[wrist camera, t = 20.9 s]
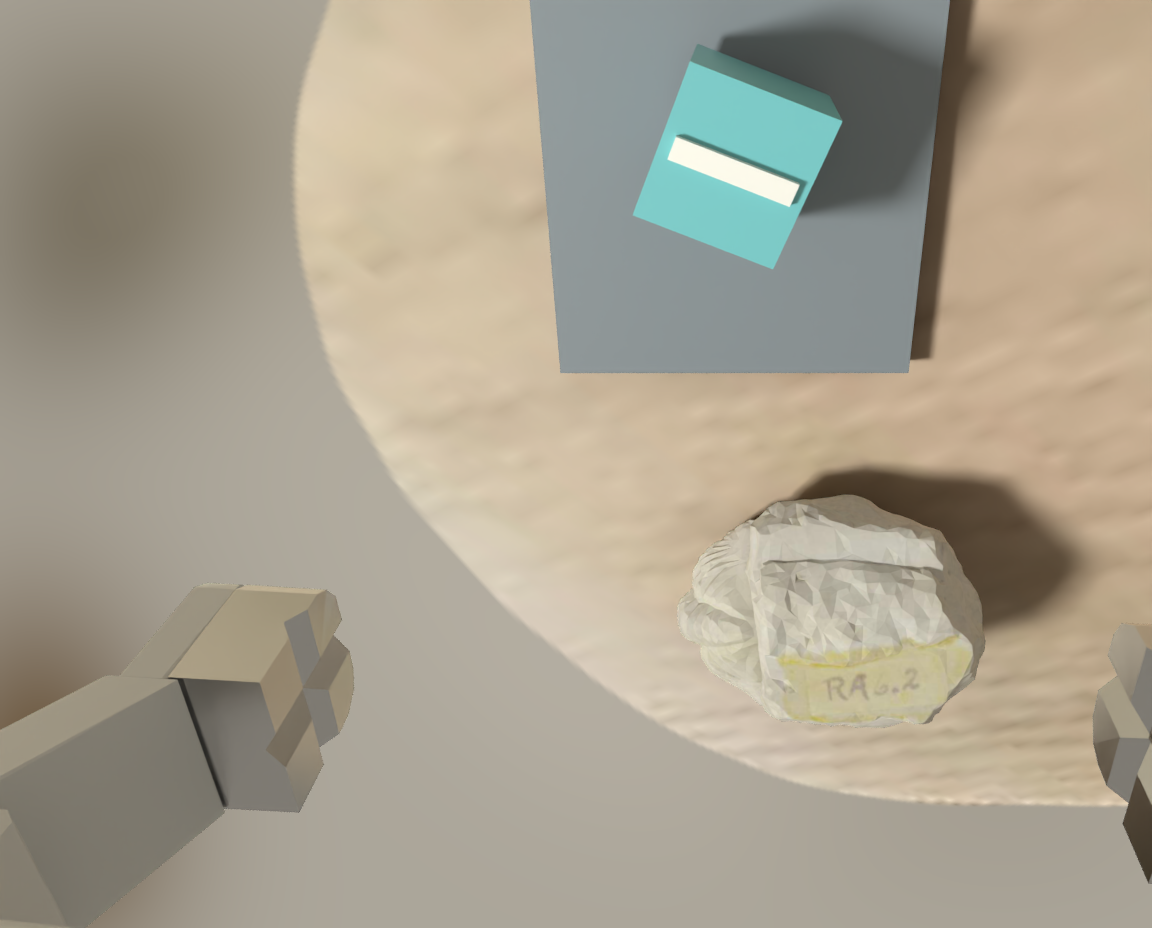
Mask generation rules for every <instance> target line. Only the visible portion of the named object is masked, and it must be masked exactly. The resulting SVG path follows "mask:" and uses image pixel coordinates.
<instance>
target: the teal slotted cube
mask: <svg viewBox="0 0 1152 928" xmlns="http://www.w3.org/2000/svg"><path fill="white" fill-rule="evenodd" d="M842 122H843V121H842V119H841V117H840V115H839V113H838V111H837V109H836V107H835V105H834V103H833V101H832V99H831V97H830V96H829V95H827V94H825V93H822V92H819V91H817V90H814V89H812V88H809V87H807V86H804V85H802V84H799V83H797V82H794V81H791V80H789V79H786V78H784V77H781V76H779V75H776V74H774V73H771V72H769V71H766V70H764V69H761V68H758V67H756V66H753V65H751V64H748V63H746V62H743V61H741V60H738V59H736V58H733V57H730V56H728V55H725V54H723V53H720V52H718V51H715V50H713V49H710V48H708V47H705V46H702V45H700V44H697V46H696V48H695V50H694V53H693V55H692V58H691V60H690V62H689V65H688V68H687V70H686V73H685V76H684V79H683V81H682V84H681V87H680V89H679V92H678V95H677V97H676V100H675V103H674V105H673V108H672V111H671V113H670V116H669V119H668V121H667V124H666V127H665V129H664V132H663V135H662V137H661V140H660V143H659V146H658V148H657V151H656V154H655V156H654V159H653V162H652V164H651V167H650V170H649V172H648V175H647V178H646V180H645V183H644V186H643V188H642V191H641V194H640V196H639V199H638V202H637V204H636V207H635V210H634V212H633V216H636V217H638V218H641V219H644V220H646V221H649V222H651V223H654V224H656V225H659V226H662V227H664V228H667V229H669V230H672V231H675V232H677V233H680V234H682V235H685V236H688V237H690V238H693V239H695V240H698V241H701V242H703V243H706V244H708V245H711V246H713V247H716V248H719V249H721V250H724V251H726V252H729V253H732V254H734V255H737V256H739V257H742V258H745V259H747V260H750V261H752V262H755V263H758V264H760V265H763V266H765V267H768V268H770V269H773V268H774V266H775V264H776V262H777V260H778V258H779V256H780V254H781V251H782V249H783V247H784V245H785V243H786V241H787V239H788V237H789V234H790V232H791V230H792V228H793V226H794V224H795V222H796V219H797V217H798V215H799V213H800V211H801V209H802V207H803V205H804V202H805V200H806V198H807V196H808V194H809V192H810V190H811V188H812V185H813V183H814V181H815V179H816V177H817V175H818V173H819V171H820V168H821V166H822V164H823V162H824V160H825V158H826V156H827V153H828V151H829V149H830V147H831V145H832V143H833V141H834V139H835V136H836V134H837V132H838V130H839V128H840V126H841V124H842Z"/></svg>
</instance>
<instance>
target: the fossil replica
mask: <svg viewBox="0 0 1152 928" xmlns="http://www.w3.org/2000/svg"><path fill="white" fill-rule="evenodd" d="M692 578H693V581H692V586H693V589H691V590H690V591H689V592H687V593H686V595H685V596H684V597H682V598H681V599H680V602H679V604H678V607H677V610H678V614H677V620H678V626H679V629H680V632H681V635H682V636H684V637H685V638H686V639H687V640H689V641H691V642H693V643H695V644H699V645H701V649H700V654H701V657H702V660H703V662H704V663H705V664H706V666H707V668H708V669H709V670H710V671H711V672H712V673H713V674H714V675H716V676H717V677H719V678H721V679H722V680H724V681H726V682H728V683H730V684H731V685H733V686H735V687H737V688H738V689H740V690H742V691H744V692H745V693H746V694H748V695H749V696H750V697H751V698H753V699H754V700H755V701H756V702H757V703H758V704H759V705H760V706H763V707H764V710H765V712H766V713H767V714H769V715H770V716H771V717H773V718H775V719H777V720H780V721H794V722H799V723H809V724H818V725H828V726H836V725H850V726H852V727H855V728H863V727H870V728H885V727H889V726H893V725H896V724H899V723H902V722H909V723H913V724H927V723H930V722H931V721H932V719H933V717H934V716H935V714H937V713H939V712H940V710H941V709H942V707H943V705H944V704H945V703H946V702H947V701H948V700H949V699H950V698H952V697H953V696H955V695H956V694H957V693H959V692H960V691H961V690H963V689H964V688H965V687H966V686H967V685H969V684H970V683H971V682H972V681H973V680H975V676H976V671H977V667H978V664H979V660H980V657H981V656H982V654H983V652H984V649H985V637H984V634H983V626H982V619H983V615H982V606H981V602H980V599H979V596H978V593H977V591H976V590H975V588H974V587H973V585H972V584H971V582H970V581H969V580H968V579H967V578H966V576H965V575H964V573H963V570H962V565H961V564H960V562H959V561H958V560H957V558H956V555H955V552H954V550H953V549H952V547H951V546H950V545H949V543H948V542H947V541H946V539H945V537H944V536H943V534H942V532H941V531H939V530H937V529H934V528H931V527H927V526H924V525H922V524H920V523H918V522H916V521H914V520H912V519H909V518H906V517H904V516H901V515H896V514H892V513H890V512H887V511H885V510H882V509H880V508H878V507H877V506H876V505H875V504H874V503H872V502H871V501H870V500H867V499H865V498H863V497H859V496H856V495H839V496H834V497H828V498H819V499H811V500H808V499H802V500H796V501H780V502H777V503H775V504H773V505H772V506H770V507H768V508H767V509H766V510H765V511H764V512H763V513H762V514H761V515H760V516H759V517H758V518H757V519H756V520H747V521H746V523H742V524H740V525H739V526H738V527H736V528H735V529H734V530H733V531H729V533H728V534H727V535H726V536H724V538H723V540H721V541H718V542H715V543H714V544H712V545H711V546H710V547H709V548H708V549H707V550H706V552H705V553H703V554H702V555H701V556H700V558H699V562H698V563H697V565H696V566H695V568H694V570H693V577H692Z"/></svg>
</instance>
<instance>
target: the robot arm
mask: <svg viewBox="0 0 1152 928" xmlns="http://www.w3.org/2000/svg"><path fill="white" fill-rule="evenodd" d="M341 620H342V618H341V614H340V611H339V607H338V604H337V600H336V597H335V596H334V595H333V594H332V593H330V592H329V591H327V590H321V589H306V588H290V587H275V586H260V585H245V586H244V585H237V584H219V583H218V584H217V583H205V584H202V585H199V586H196V587H194V588H193V589H192V591H191V592H190V593H189V594H188V595H187V596H186V598H185V599H184V600H183V601H182V602H181V604H180V605H179V606H178V607H177V608H176V609H175V611H174V612H173V613H172V614H171V615H170V617H169V618H168V619H167V620H166V621H165V622H164V624H163V625H162V626H161V627H160V628H159V630H158V631H157V632H156V633H155V634H154V635H153V637H152V638H151V639H150V640H149V641H148V643H147V644H146V645H145V646H144V647H143V648H142V650H141V651H140V652H139V653H138V654H137V656H136V657H135V658H134V659H133V660H132V661H131V663H130V664H129V665H128V666H127V667H126V669H125V670H124V671H123V672H122V673H121V674H120V676H109V675H106V676H104V677H102V678H100V679H98V680H96V681H94V682H92V683H90V684H89V685H87V686H85V687H83V688H81V689H79V690H77V691H75V692H73V693H71V694H69V695H67V696H65V697H63V698H61V699H59V700H57V701H56V702H54V703H52V704H50V705H48V706H46V707H44V708H42V709H40V710H38V711H36V712H34V713H32V714H30V715H28V716H26V717H25V718H23V719H21V720H19V721H17V722H15V723H13V724H11V725H9V726H7V727H5V728H3V729H1V730H0V928H86V927H87V926H88V925H90V924H91V923H92V922H93V921H94V920H96V919H97V918H98V917H99V916H100V915H102V914H103V913H104V912H105V911H107V910H108V909H109V908H110V907H111V906H113V905H114V904H115V903H116V902H117V901H118V900H120V899H121V898H122V897H123V896H125V895H126V894H127V893H128V892H129V891H131V890H132V889H133V888H134V887H135V886H137V885H138V884H139V883H140V882H142V881H143V880H144V879H145V878H146V877H148V876H149V875H150V874H151V873H152V872H154V871H155V870H156V869H157V868H158V867H160V866H161V865H162V864H163V863H165V862H166V861H167V860H168V859H170V858H171V857H172V856H173V855H174V854H175V853H177V852H178V851H179V850H180V849H182V848H183V847H184V846H185V845H186V844H187V843H189V842H190V841H191V840H192V839H194V838H195V837H196V836H197V835H198V834H200V833H201V832H202V831H203V830H205V829H206V828H207V827H208V826H209V825H211V824H212V823H213V822H214V821H215V820H217V819H218V818H219V817H220V816H221V815H223V814H224V812H225V811H224V809H242V810H261V811H280V812H298V813H299V812H300V810H301V808H302V806H303V804H304V802H305V800H306V798H307V796H308V794H309V792H310V790H311V789H312V786H313V785H314V783H315V781H316V779H317V777H318V775H319V773H320V771H321V769H322V767H323V765H324V763H323V760H322V756H321V752H320V748H319V747H321V746H322V745H324V744H325V743H326V742H328V741H329V740H331V739H332V738H333V737H335V736H336V735H338V734H339V733H340V731H341V729H342V727H343V725H344V723H345V721H346V718H347V716H348V714H349V710H350V705H351V700H352V695H353V690H354V676H353V665H352V660H351V656H350V651H349V650H348V649H347V648H346V647H345V646H344V645H343V644H342V643H341V642H340V641H339V640H338V639H337V638H336V637H335V636H334V633H335V631H336V629H337V628H338V626H339V624H340V622H341ZM1108 657H1109V659H1110V661H1111V663H1112V665H1113V667H1114V669H1115V671H1116V673H1117V676H1116V677H1115V678H1114V679H1112V680H1111V681H1110V682H1108V683H1107V684H1106V685H1105V686H1103V687H1102V688H1101V689H1099V690H1098V695H1097V700H1096V704H1095V709H1094V713H1093V744H1094V749H1095V753H1096V757H1097V762H1098V765H1099V768H1100V770H1101V773H1102V775H1103V778H1104V780H1105V783H1106V785H1107V786H1108V787H1109V788H1110V789H1111V790H1113V791H1114V792H1115V793H1117V794H1118V795H1119V796H1120V797H1122V798H1123V799H1124V800H1125V801H1127V802H1128V803H1129V804H1128V807H1127V810H1126V814H1125V817H1124V820H1123V826H1124V828H1125V830H1126V833H1127V835H1128V837H1129V839H1130V842H1131V844H1132V846H1133V849H1134V851H1135V853H1136V856H1137V858H1138V860H1139V863H1140V865H1141V867H1142V870H1143V872H1144V874H1145V877H1146V879H1147V881H1148V883H1149V884H1152V624H1134V623H1121V625H1120V626H1119V628H1118V629H1117V631H1116V632H1115V634H1114V635H1113V639H1112V642H1111V646H1110V649H1109V653H1108Z"/></svg>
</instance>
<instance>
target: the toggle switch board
mask: <svg viewBox="0 0 1152 928" xmlns="http://www.w3.org/2000/svg"><path fill="white" fill-rule="evenodd" d="M949 4H950V0H530V9H531V21H532V34H533V46H534V58H535V70H536V82H537V94H538V106H539V118H540V130H541V142H542V155H543V167H544V179H545V191H546V203H547V215H548V227H549V239H550V251H551V263H552V276H553V288H554V300H555V312H556V324H557V336H558V348H559V360H560V372H561V373H909V364H910V355H911V346H912V337H913V328H914V319H915V310H916V301H917V292H918V283H919V274H920V265H921V256H922V247H923V238H924V229H925V220H926V211H927V202H928V193H929V184H930V175H931V166H932V157H933V148H934V139H935V130H936V121H937V112H938V103H939V94H940V85H941V76H942V67H943V58H944V49H945V40H946V31H947V22H948V13H949ZM697 44H700V45H702V46H705V47H708V48H710V49H713V50H715V51H718V52H720V53H723V54H725V55H728V56H730V57H733V58H736V59H738V60H741V61H743V62H746V63H748V64H751V65H753V66H756V67H758V68H761V69H764V70H766V71H769V72H771V73H774V74H776V75H779V76H781V77H784V78H786V79H789V80H791V81H794V82H797V83H799V84H802V85H804V86H807V87H809V88H812V89H814V90H817V91H819V92H822V93H825V94H827V95H829V96H830V97H831V99H832V101H833V103H834V105H835V107H836V109H837V111H838V113H839V115H840V117H841V119H842V121H843V122H842V124H841V126H840V128H839V130H838V132H837V134H836V136H835V139H834V141H833V143H832V145H831V147H830V149H829V151H828V153H827V156H826V158H825V160H824V162H823V164H822V166H821V168H820V171H819V173H818V175H817V177H816V179H815V181H814V183H813V185H812V188H811V190H810V192H809V194H808V196H807V198H806V200H805V202H804V205H803V207H802V209H801V211H800V213H799V215H798V217H797V219H796V222H795V224H794V226H793V228H792V230H791V232H790V234H789V237H788V239H787V241H786V243H785V245H784V247H783V249H782V251H781V254H780V256H779V258H778V260H777V262H776V264H775V266H774V268H773V269H770V268H768V267H765V266H763V265H760V264H758V263H755V262H752V261H750V260H747V259H745V258H742V257H739V256H737V255H734V254H732V253H729V252H726V251H724V250H721V249H719V248H716V247H713V246H711V245H708V244H706V243H703V242H701V241H698V240H695V239H693V238H690V237H688V236H685V235H682V234H680V233H677V232H675V231H672V230H669V229H667V228H664V227H662V226H659V225H656V224H654V223H651V222H649V221H646V220H644V219H641V218H638V217H636V216H633V212H634V210H635V207H636V204H637V202H638V199H639V196H640V194H641V191H642V188H643V186H644V183H645V180H646V178H647V175H648V172H649V170H650V167H651V164H652V162H653V159H654V156H655V154H656V151H657V148H658V146H659V143H660V140H661V137H662V135H663V132H664V129H665V127H666V124H667V121H668V119H669V116H670V113H671V111H672V108H673V105H674V103H675V100H676V97H677V95H678V92H679V89H680V87H681V84H682V81H683V79H684V76H685V73H686V70H687V68H688V65H689V62H690V60H691V58H692V55H693V53H694V50H695V48H696V46H697Z"/></svg>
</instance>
